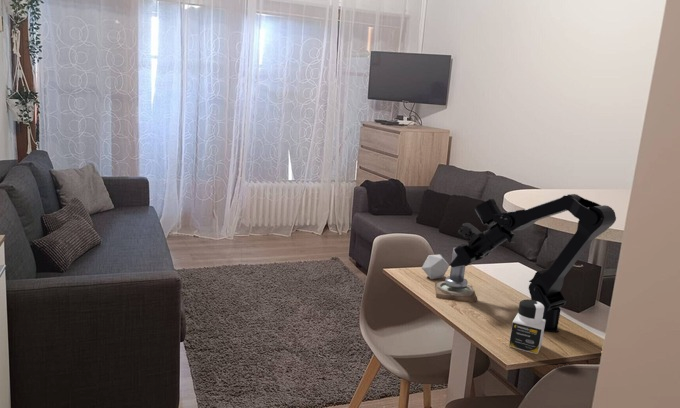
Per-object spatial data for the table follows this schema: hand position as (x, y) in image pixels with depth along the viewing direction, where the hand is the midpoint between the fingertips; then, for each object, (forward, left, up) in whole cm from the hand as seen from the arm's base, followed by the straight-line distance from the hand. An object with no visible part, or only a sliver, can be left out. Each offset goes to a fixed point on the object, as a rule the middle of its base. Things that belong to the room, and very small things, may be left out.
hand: (454, 264), depth 178 cm
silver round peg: (-1, +1, -7) cm, 7 cm away
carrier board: (-1, +1, -9) cm, 9 cm away
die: (+5, -13, -10) cm, 17 cm away
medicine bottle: (-17, +35, -10) cm, 40 cm away
